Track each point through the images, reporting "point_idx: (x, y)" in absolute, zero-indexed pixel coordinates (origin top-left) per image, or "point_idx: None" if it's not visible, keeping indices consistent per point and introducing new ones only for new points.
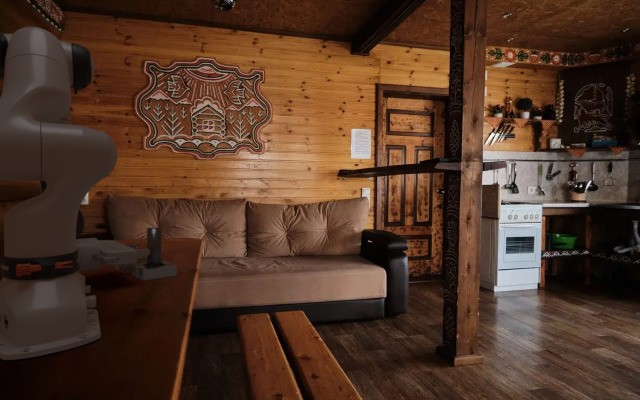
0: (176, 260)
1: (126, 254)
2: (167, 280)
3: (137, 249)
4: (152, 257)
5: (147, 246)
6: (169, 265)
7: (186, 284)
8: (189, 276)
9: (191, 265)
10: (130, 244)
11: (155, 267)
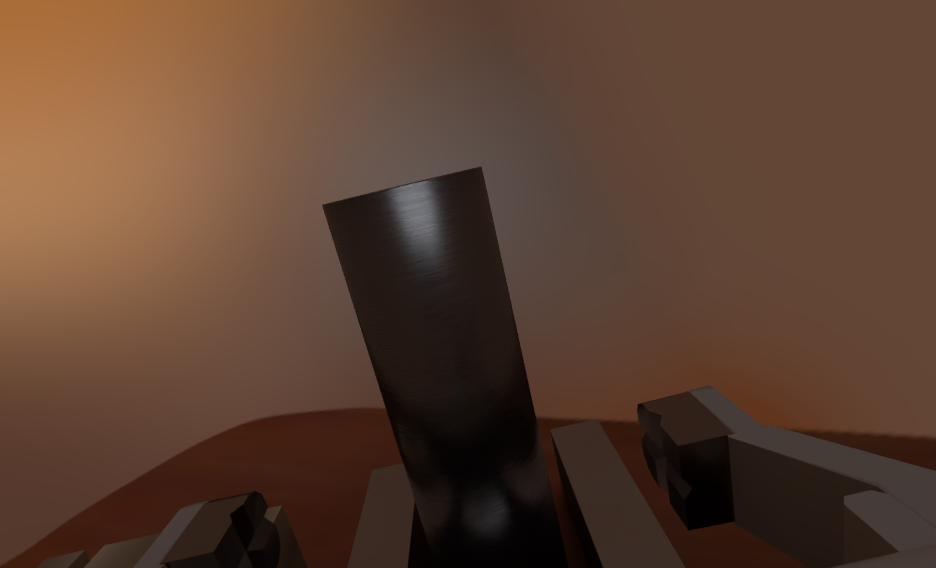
0: (221, 460)
1: None
2: (735, 544)
3: (280, 544)
4: (539, 480)
5: (456, 410)
6: (574, 450)
7: (884, 455)
8: (637, 433)
9: (386, 418)
10: (151, 566)
11: (621, 538)
